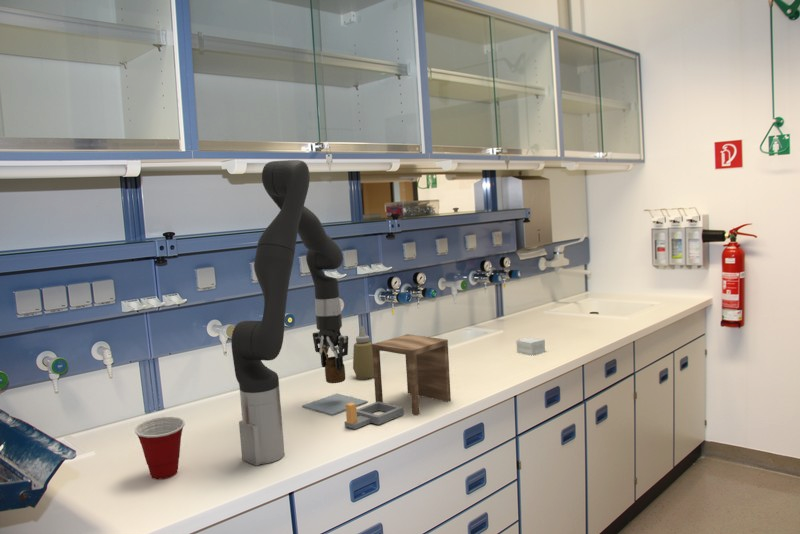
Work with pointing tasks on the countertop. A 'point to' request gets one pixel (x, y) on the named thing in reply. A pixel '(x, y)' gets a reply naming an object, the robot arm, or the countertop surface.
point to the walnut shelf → (417, 367)
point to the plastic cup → (161, 445)
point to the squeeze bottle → (363, 356)
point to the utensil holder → (333, 370)
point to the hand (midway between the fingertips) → (332, 368)
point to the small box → (530, 346)
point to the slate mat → (333, 404)
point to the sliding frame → (365, 417)
